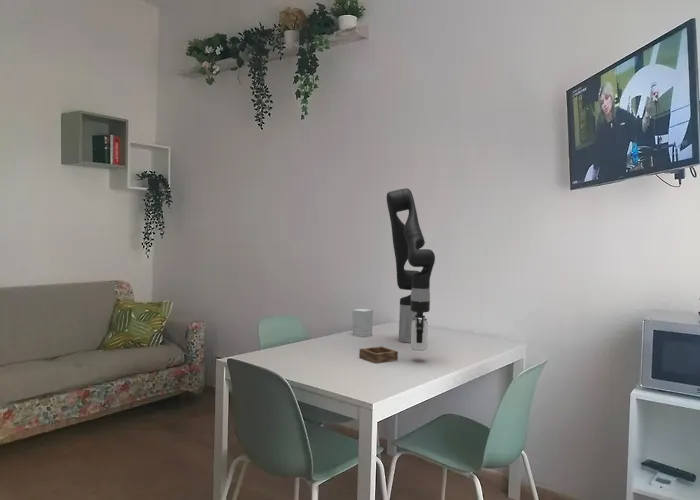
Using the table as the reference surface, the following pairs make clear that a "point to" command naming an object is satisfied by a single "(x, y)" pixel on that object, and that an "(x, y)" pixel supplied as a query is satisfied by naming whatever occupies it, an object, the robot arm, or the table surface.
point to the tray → (378, 354)
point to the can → (414, 336)
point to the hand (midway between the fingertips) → (419, 340)
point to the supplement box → (362, 322)
